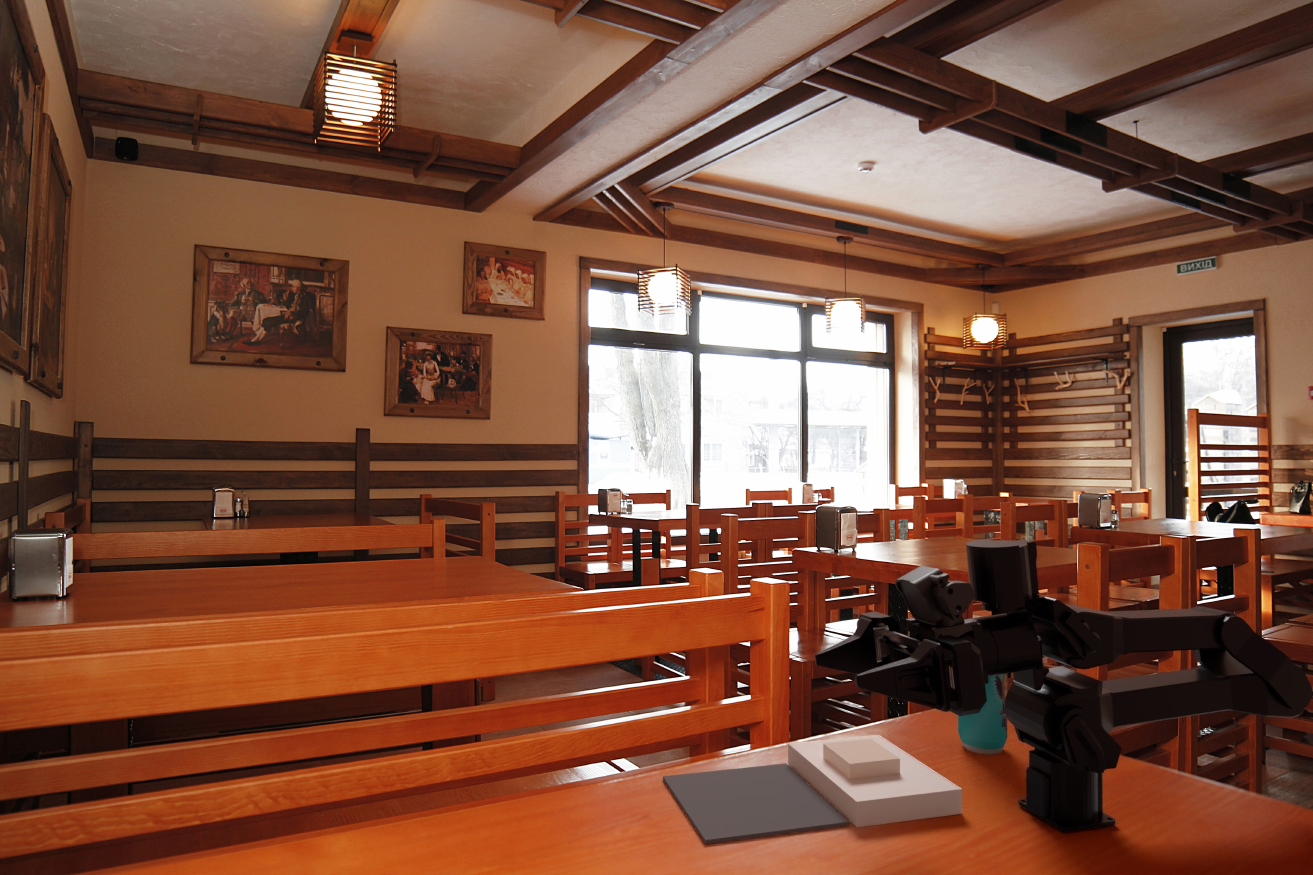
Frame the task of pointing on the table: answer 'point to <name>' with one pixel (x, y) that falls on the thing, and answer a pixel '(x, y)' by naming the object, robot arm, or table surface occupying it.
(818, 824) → the charcoal mat
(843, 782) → the light grey rectangular box
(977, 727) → the beverage can
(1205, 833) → the table surface
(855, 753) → the cream rectangular block
